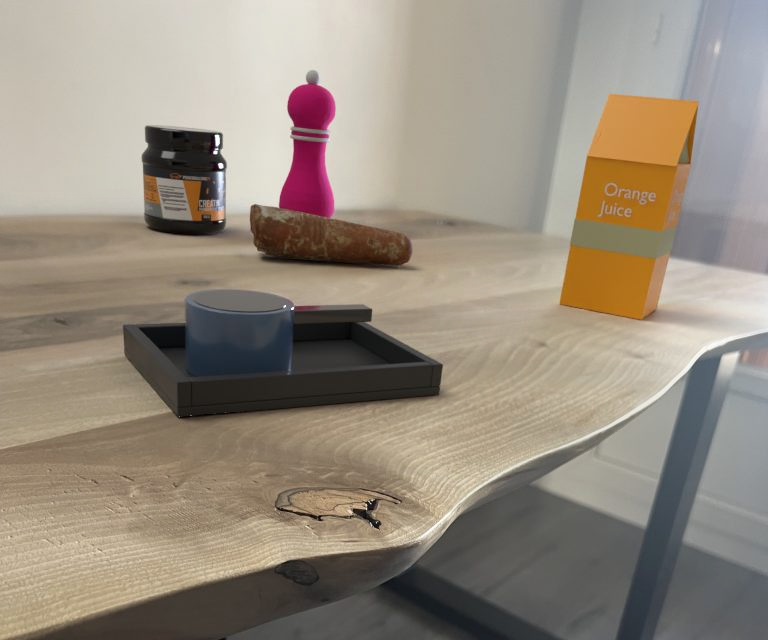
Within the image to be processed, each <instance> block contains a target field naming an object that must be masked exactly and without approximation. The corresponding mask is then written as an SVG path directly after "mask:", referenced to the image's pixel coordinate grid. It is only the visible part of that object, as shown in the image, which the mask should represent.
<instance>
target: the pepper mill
mask: <svg viewBox="0 0 768 640" xmlns="http://www.w3.org/2000/svg"><path fill="white" fill-rule="evenodd" d="M305 82H306V84H300V85H298V86H296V87H295V88H294V89H292V91H291V92H290V94H289V96H288V99H287V104H286V107H287V108H286V109H287V114H288V116H289V118H290V119H291V122H292V124H293V126H290V127H289V128H290V131H291V133H290V135H289V136H290V137H289V138H290V139H292V141H293V143H292V144H293V145H292V147H293V152H292V161H291V165H290V168H289V171H288V174H287V176H286V179H285V181H284V183H283V185H282V187H281V190H280V195H279V199H278V200H279V201H278V208H282V209H287V210H292V211H298V212H303V213H307V214H312V215H318V216H322V217H327V218H331V219H332V216H333V215H334V213H335V199H334V198H335V197H334V192H333V189H332V186H331V183H330V180H329V176H328V172H327V166H326V149H327V143H330V142H331V139H330V134H331V130H329V129H328V128H329V126H330V124H331V123H332V122H333V121H334V119H335V117H336V112H337V111H336V110H337V109H336V106H337V105H336V101H335V98H334V96H333V94H332V93H331V92H330V90H329V89H327V88H326V87H324V86H321V85H319V84H320V83H321V75H320V72H318V71H317V70H316V69H310V70H308V72H306V75H305Z"/></svg>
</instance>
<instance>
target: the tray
mask: <svg viewBox="0 0 768 640" xmlns="http://www.w3.org/2000/svg"><path fill="white" fill-rule="evenodd" d="M122 329H123V330H122V335H123V346H124V347H123V353H124V354H123V355H124V356H125V357H126V358H127V359H128V361H129V362H130V363H131V364H132V365H133V367H134V368H135V369H136V370H137V371H138V372H139V373H140V375H141V376H142V377H143V378H144V379H145V380H146V382H147V383H148V384H149V385H150V386H151V388H153V390H154V391H155V393H157V395H159V396H158V397H160V398H161V399H162V401H163V402H164V401H165V402H166V403H165V402H164V403H165V404H166V405H167V407H169V409H170V408H171V409H172V410H171V409H170V410H171V411H172V412H173V414H174V415H175V416H176V415H177V416H178V417H177V416H176V417H177V418H179V416H180V418H184V417H183V416H190V415H192V416H191V417H196V416H195V415H202V414H213V415H215V414H214V413H225V412H226V413H225V414H231V413H230V412H236V413H245V412H244V411H247V412H256V411H258V412H259V411H268V410H280V408H281V409H290V408H302V407H313V406H314V407H315V406H324V405H325V406H327V405H334V404H336V405H337V404H349V403H360V402H370V401H383V400H393V399H403V398H413V397H414V398H415V397H428V396H436V395H440V391H441V383H442V377H443V368H444V363H441V362H439V361H437V360H436V359H434V358H432V357H430V356H428V355H427V354H425V353H423V352H421V351H420V350H417V349H415V348H413V347H412V346H410V345H408V344H406V343H404V342H402V341H400V340H399V339H397V338H395V337H393V336H391V335H390V334H388V333H386V332H384V331H382V330H380V329H379V328H376V327H374V326H373V325H371V324H369V323H368V322H352V323H324V324H297V325H294V329H293V351H292V371H278V372H262V373H247V374H232V375H216V376H201V377H196V376H194V375H192V374H191V373H189V372H188V371H187V369H186V357H185V322H167V323H166V322H165V323H164V322H163V323H136V324H135V323H129V324H127V323H126V324H123V325H122ZM240 411H241V412H240ZM193 415H194V416H193ZM181 416H182V417H181ZM202 416H203V415H202Z"/></svg>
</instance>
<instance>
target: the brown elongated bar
mask: <svg viewBox="0 0 768 640" xmlns="http://www.w3.org/2000/svg"><path fill="white" fill-rule="evenodd" d="M249 209H250V210H249V211H250V212H249V224H250V231H251V233H252V235H253V245H254V247H255V248H256V250H257V252H261V253H264V254H265V255H266V256H272V257H275V258H280V259H290V260H291V259H293V260H305V261H316V262H318V261H319V262H332V263H333V262H335V263H345V264H359V265H384V266H385V265H387V266H401V265H405V264H407V263H409V262H410V260H411V258H412V256H413V252H414V251H413V250H414V247H413V243H412V239H411V238H410V237H409V236H408V235H407V234H406V233H402V232H398V231H393V230H389V229H385V228H379V227H375V226H369V225H365V224H360V223H354V222H350V221H346V220H342V219H337V218H332V217H331V218H327V217H322V216H318V215H312V214H307V213H303V212H298V211H292V210H287V209H282V208H279V206H278V207H277V206H269V205H261V204H258V203H257V204H256V203H254V204H252V205H250V208H249Z"/></svg>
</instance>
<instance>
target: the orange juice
mask: <svg viewBox="0 0 768 640" xmlns="http://www.w3.org/2000/svg"><path fill="white" fill-rule="evenodd" d="M699 103H700V101H699V100H686V99H677V98H665V97H652V96H643V95H641V96H639V95H630V94H629V95H628V94H618V93H617V94H616V93H609V94H608V97H607V100H606V102H605V104H604V108H603V110H602V113H601V116H600V119H599V122H598V124H597V127H596V130H595V133H594V135H593V138H592V141H591V144H590V147H589V149H588V152H587V154H586V158H585V159H586V160H585V165H584V171H583V174H582V181H581V187H580V191H579V197H578V203H577V208H576V211H575V212H576V213H575V217H574V221H573V226H572V231H571V237H570V243H569V245H570V246H569V249H568V250H569V251H568V256H567V261H566V266H565V272H564V277H563V283H562V287H561V293H560V299H559V304H558V305H562V306H568V307H572V308H579V309H583V310H588V311H594V312H598V313H603V314H610V315H614V316H620V317H625V318H630V319H635V320H639V321H642V320H643V319H645V318H646V317H648V316H649V315H650V314H652V313H653V312H655V311H656V310H657V309H658V305H659V301H660V297H661V293H662V288H663V284H664V279H665V276H666V271H667V268H668V264H669V259H670V255H671V252H672V249H673V245H674V240H675V237H676V232H677V227H678V221H679V217H680V213H681V210H682V205H683V200H684V197H685V193H686V188H687V184H688V180H689V175H690V172H691V168H692V156H693V148H694V141H695V134H696V126H697V117H698V111H699V110H698V109H699Z"/></svg>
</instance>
